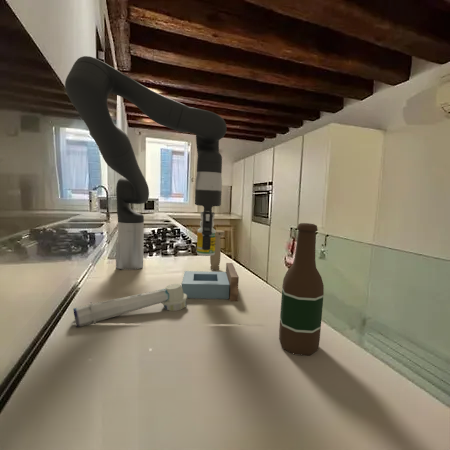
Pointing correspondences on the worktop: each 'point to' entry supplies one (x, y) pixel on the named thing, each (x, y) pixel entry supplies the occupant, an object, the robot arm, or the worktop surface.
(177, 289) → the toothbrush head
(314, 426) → the worktop surface
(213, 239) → the supplement bottle
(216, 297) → the socket block
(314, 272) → the beer bottle
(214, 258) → the handle
